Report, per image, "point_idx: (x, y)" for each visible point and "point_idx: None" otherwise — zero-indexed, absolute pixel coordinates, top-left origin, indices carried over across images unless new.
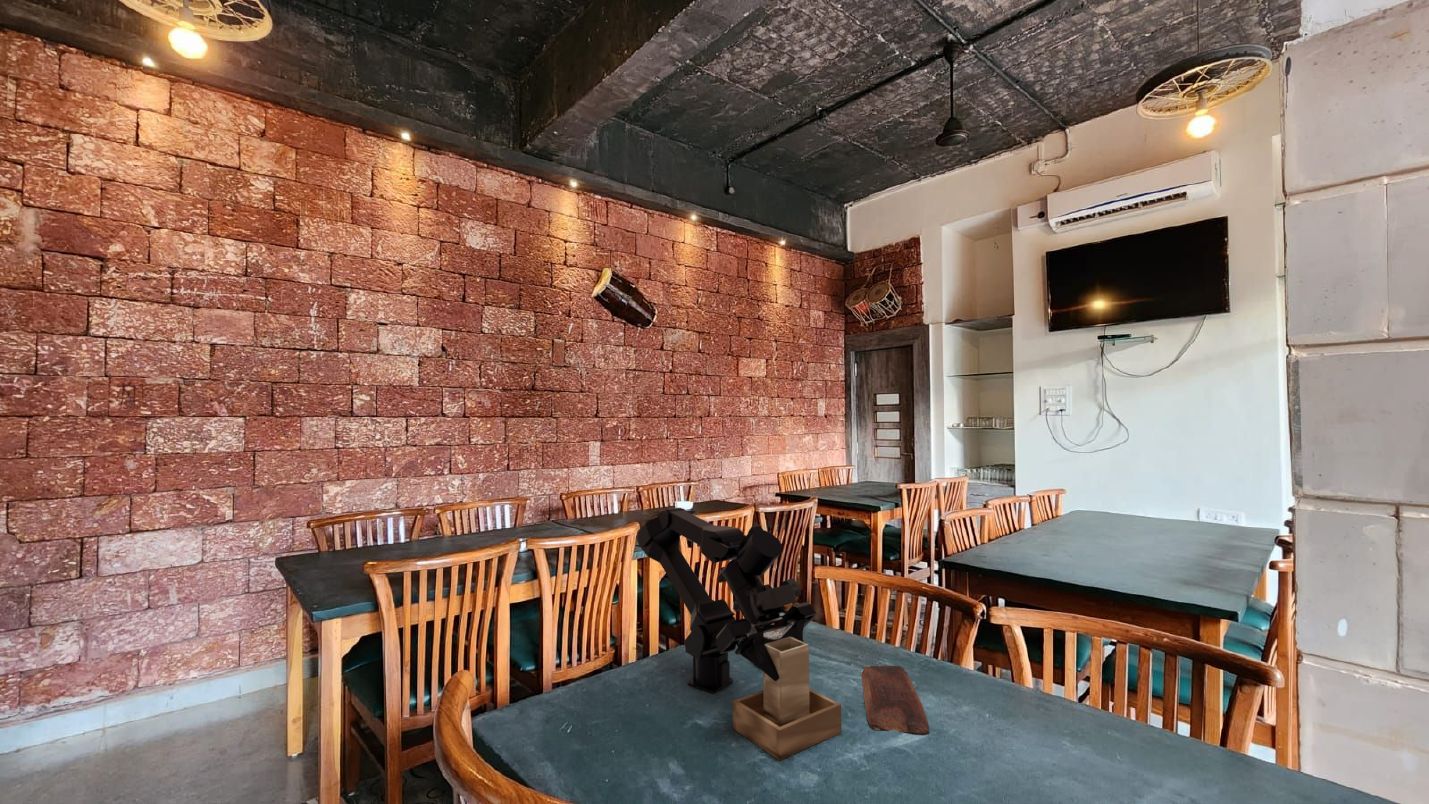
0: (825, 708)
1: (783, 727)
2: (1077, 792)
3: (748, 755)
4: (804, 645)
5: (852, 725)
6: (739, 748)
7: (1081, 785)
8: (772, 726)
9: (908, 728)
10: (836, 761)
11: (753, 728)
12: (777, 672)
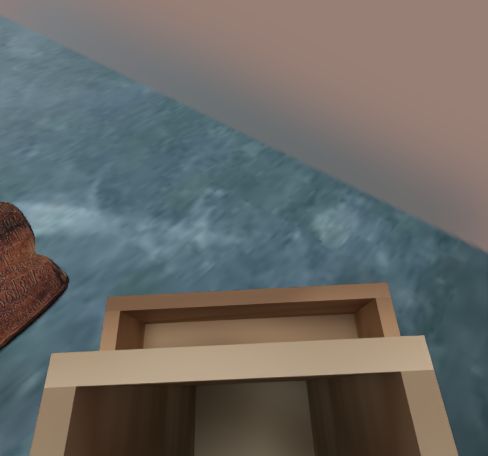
0: (168, 306)
1: (366, 288)
2: (35, 33)
3: None
4: (102, 360)
5: (85, 326)
6: None
7: (14, 37)
8: (394, 317)
9: (19, 225)
10: (244, 235)
11: None
12: None
